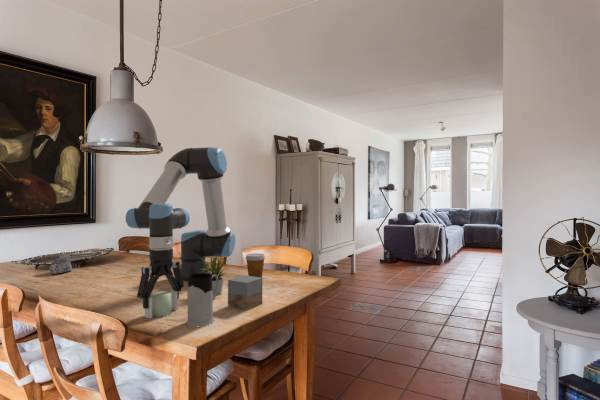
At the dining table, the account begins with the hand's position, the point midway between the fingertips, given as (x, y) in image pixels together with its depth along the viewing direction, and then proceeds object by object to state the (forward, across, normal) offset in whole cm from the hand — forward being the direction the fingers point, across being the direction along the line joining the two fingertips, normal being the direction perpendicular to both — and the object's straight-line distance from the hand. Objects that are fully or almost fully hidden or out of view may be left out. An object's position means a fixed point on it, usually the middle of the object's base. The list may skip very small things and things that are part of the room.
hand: (161, 313), depth 124 cm
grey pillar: (+1, +4, -17) cm, 17 cm away
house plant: (0, +28, +4) cm, 28 cm away
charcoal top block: (-4, +23, -18) cm, 30 cm away
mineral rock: (0, +14, +102) cm, 103 cm away
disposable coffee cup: (0, +57, +5) cm, 57 cm away
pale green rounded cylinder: (0, 0, 0) cm, 0 cm away
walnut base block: (+1, +23, -18) cm, 29 cm away
